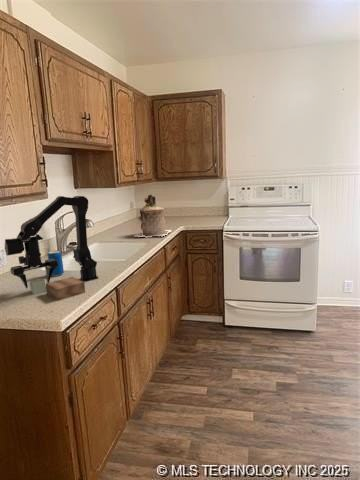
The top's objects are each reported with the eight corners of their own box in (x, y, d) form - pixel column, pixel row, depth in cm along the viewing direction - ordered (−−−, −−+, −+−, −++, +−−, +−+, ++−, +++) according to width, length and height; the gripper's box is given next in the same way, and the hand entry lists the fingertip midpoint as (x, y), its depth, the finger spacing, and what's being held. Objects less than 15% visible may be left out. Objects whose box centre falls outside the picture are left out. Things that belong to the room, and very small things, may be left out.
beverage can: (65, 272, 183) (62, 250, 180) (61, 276, 176) (58, 253, 174) (53, 273, 183) (50, 250, 180) (49, 277, 176) (45, 253, 174)
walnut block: (73, 287, 159) (72, 276, 158) (85, 293, 150) (84, 282, 149) (47, 294, 151) (45, 283, 150) (57, 301, 142) (56, 289, 141)
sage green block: (42, 288, 159) (40, 278, 158) (46, 291, 155) (44, 280, 154) (30, 291, 156) (29, 280, 155) (34, 294, 152) (32, 283, 151)
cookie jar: (172, 232, 283) (169, 192, 277) (164, 238, 260) (161, 194, 254) (143, 232, 289) (140, 193, 283) (133, 238, 266) (129, 196, 259)
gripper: (47, 244, 164) (51, 277, 167) (4, 252, 152) (10, 287, 155) (56, 248, 155) (61, 281, 158) (11, 256, 143) (17, 292, 147)
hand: (37, 285), depth 155 cm, fingers open, 9 cm apart
